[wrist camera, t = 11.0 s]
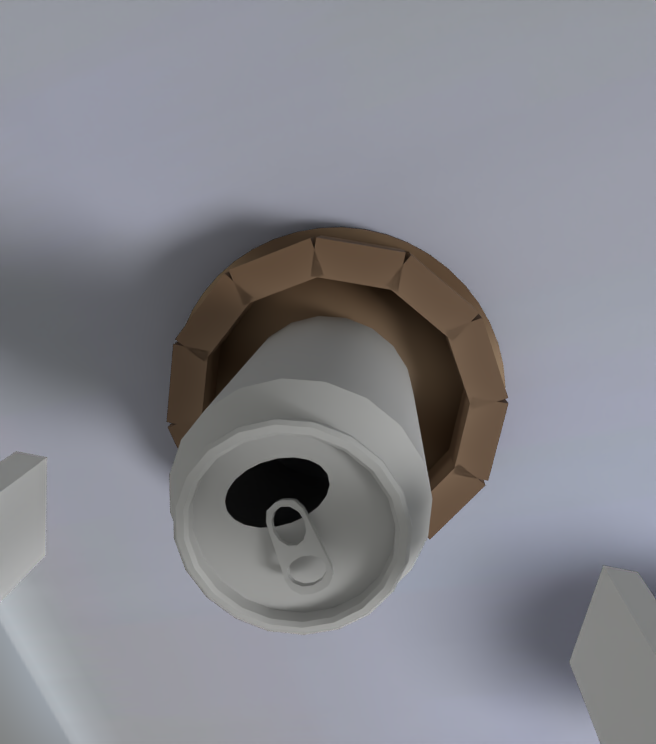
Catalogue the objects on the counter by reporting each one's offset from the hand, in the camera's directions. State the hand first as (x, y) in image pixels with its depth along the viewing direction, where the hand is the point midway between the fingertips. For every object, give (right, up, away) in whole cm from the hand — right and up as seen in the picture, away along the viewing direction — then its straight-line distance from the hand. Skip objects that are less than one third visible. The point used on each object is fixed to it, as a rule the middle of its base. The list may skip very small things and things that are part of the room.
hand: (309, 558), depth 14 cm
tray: (+1, +3, +14) cm, 14 cm away
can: (0, +3, +13) cm, 13 cm away
